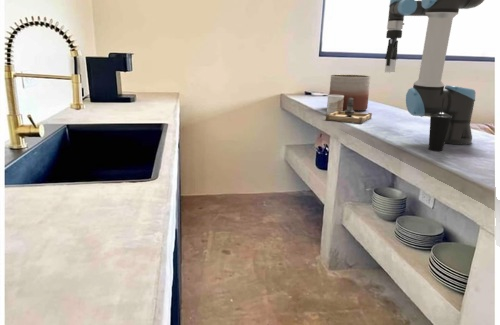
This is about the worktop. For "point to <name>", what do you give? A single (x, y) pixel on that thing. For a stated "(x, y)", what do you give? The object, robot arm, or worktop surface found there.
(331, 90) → the planter
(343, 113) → the golden square tray
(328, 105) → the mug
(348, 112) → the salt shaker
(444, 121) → the drinking cup
